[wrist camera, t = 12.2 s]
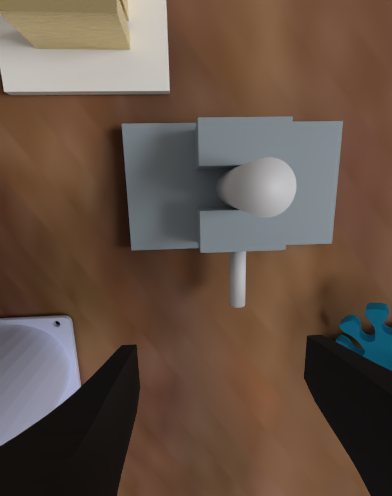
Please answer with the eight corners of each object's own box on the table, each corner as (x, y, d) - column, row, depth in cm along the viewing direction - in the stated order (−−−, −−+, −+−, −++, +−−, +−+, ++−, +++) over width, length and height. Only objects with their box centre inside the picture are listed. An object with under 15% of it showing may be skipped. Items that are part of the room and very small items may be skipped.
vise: (138, 293, 20) (110, 362, 12) (125, 127, 18) (80, 79, 10) (319, 285, 21) (404, 346, 13) (332, 125, 18) (450, 77, 10)
